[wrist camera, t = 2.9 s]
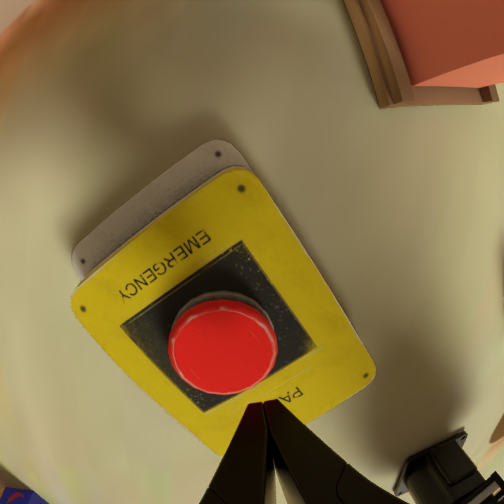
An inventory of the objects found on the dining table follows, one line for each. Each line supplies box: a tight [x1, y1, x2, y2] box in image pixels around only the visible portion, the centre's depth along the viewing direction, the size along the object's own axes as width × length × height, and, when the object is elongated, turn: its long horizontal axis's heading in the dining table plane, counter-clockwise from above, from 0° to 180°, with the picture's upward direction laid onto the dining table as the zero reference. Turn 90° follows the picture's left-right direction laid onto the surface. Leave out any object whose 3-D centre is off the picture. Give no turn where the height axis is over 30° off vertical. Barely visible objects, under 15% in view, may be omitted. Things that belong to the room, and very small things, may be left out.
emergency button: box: [71, 139, 376, 457], centre depth 13 cm, size 9×4×15 cm
